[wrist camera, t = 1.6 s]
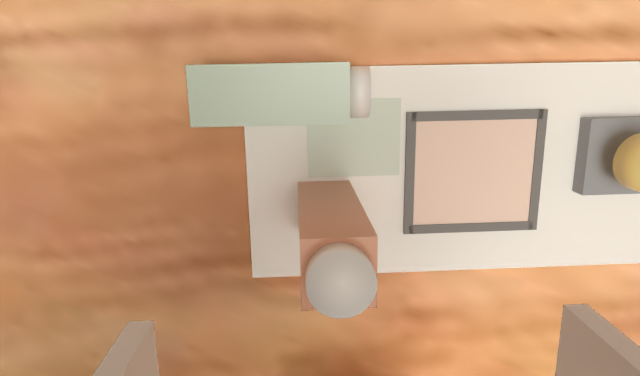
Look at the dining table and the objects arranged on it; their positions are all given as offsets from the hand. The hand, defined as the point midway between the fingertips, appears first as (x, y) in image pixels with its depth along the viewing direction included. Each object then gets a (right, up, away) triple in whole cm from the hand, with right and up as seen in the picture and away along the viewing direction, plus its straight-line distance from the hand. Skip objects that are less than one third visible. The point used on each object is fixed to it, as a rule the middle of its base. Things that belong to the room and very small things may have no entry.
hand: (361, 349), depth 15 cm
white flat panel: (+8, +6, +17) cm, 20 cm away
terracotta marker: (-1, +4, +16) cm, 17 cm away
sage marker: (-4, +11, +14) cm, 19 cm away
